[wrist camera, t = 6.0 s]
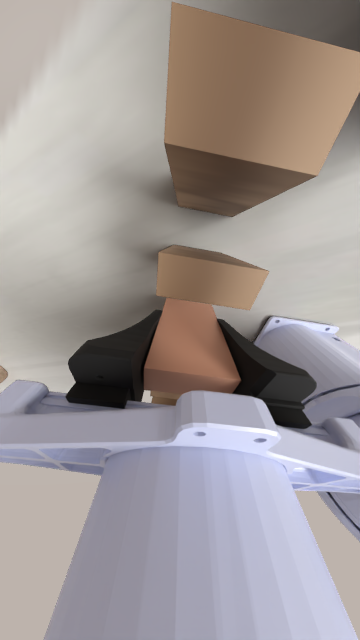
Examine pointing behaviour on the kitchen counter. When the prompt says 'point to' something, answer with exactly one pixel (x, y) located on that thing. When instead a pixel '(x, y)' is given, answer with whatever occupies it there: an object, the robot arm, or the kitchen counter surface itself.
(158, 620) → the robot arm
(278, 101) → the domino
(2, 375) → the figurine
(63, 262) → the kitchen counter surface
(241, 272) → the domino
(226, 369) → the domino
